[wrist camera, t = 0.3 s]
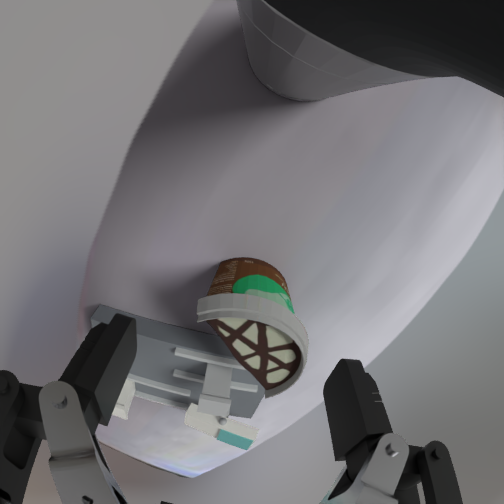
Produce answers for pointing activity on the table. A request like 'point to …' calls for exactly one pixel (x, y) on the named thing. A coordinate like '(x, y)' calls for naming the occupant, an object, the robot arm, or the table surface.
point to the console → (182, 365)
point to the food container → (257, 322)
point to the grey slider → (216, 390)
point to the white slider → (124, 400)
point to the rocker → (221, 428)
